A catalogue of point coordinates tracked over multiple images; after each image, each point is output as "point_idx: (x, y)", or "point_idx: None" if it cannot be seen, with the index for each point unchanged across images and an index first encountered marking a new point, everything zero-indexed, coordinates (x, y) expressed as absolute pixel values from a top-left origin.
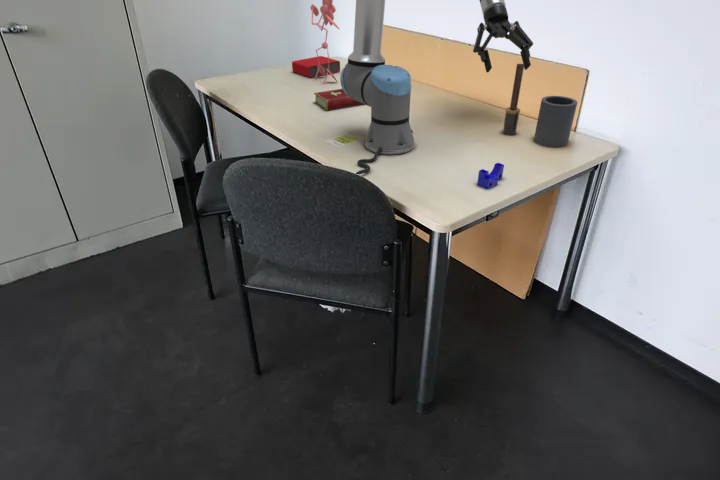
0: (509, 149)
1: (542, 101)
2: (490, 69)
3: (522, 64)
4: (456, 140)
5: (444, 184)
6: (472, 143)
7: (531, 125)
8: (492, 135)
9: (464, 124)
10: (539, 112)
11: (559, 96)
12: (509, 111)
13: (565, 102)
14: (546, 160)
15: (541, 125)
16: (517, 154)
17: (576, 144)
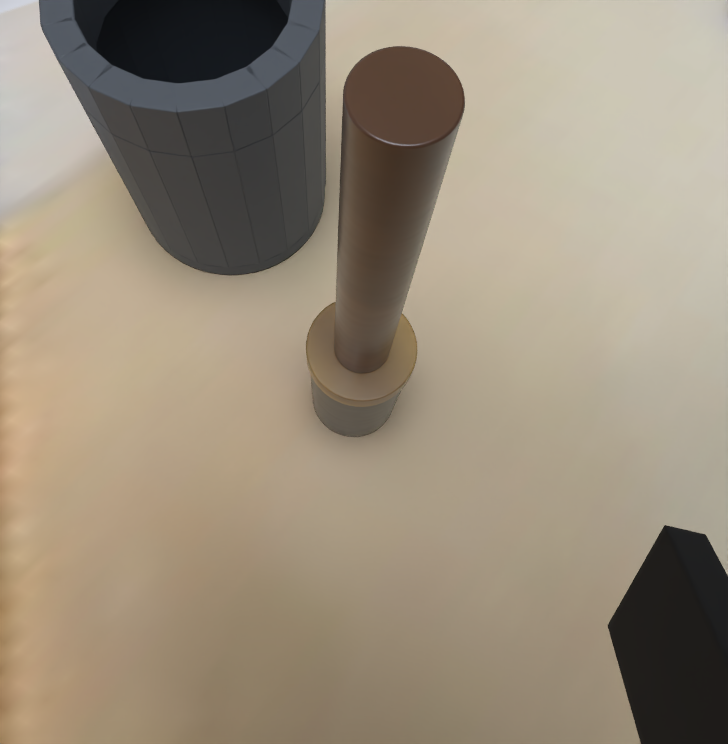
0: (515, 210)
1: (308, 52)
2: (646, 564)
3: (378, 78)
4: (725, 446)
5: None
6: (657, 364)
7: (121, 437)
8: (476, 411)
9: (532, 683)
10: (304, 131)
11: (82, 61)
12: (412, 333)
13: (87, 37)
14: (437, 46)
15: (324, 129)
16: (517, 149)
17: None
